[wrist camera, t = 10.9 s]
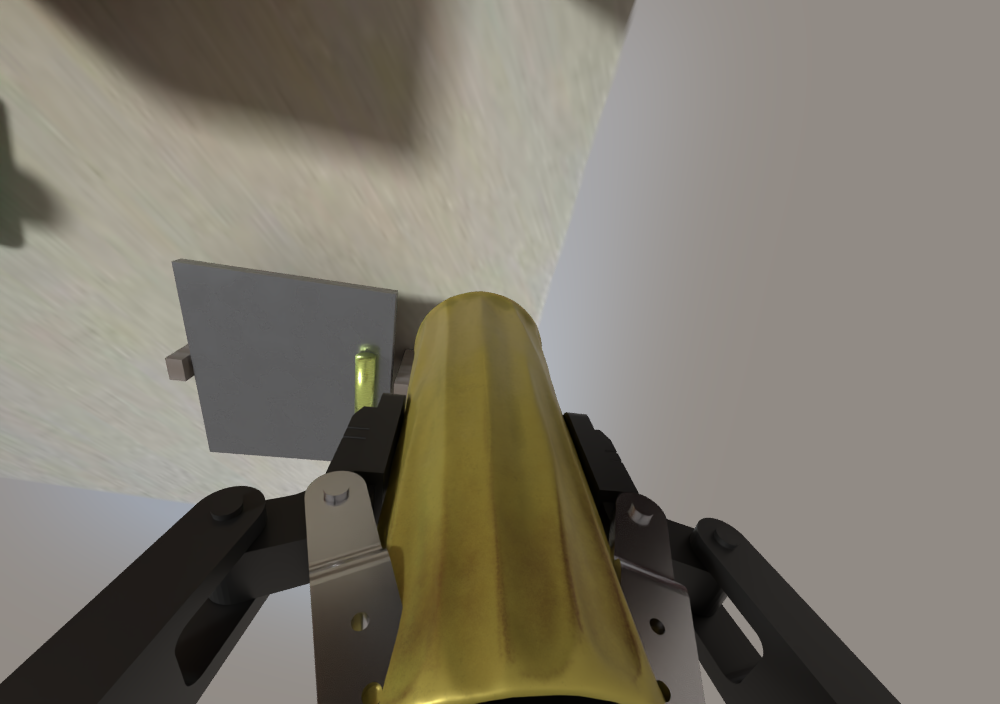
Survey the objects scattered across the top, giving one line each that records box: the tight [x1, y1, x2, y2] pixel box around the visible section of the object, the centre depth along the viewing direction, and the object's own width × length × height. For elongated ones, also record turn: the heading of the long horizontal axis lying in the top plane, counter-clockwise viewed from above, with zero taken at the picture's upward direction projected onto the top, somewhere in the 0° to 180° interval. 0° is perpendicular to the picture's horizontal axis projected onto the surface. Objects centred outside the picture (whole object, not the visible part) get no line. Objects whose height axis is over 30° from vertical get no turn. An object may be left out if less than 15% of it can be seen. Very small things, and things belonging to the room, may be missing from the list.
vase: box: [362, 291, 666, 704], centre depth 12 cm, size 6×6×14 cm
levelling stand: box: [165, 344, 415, 399], centre depth 35 cm, size 14×19×7 cm
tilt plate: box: [172, 259, 398, 461], centre depth 32 cm, size 18×16×3 cm
